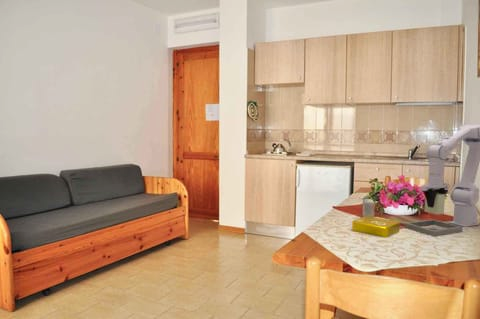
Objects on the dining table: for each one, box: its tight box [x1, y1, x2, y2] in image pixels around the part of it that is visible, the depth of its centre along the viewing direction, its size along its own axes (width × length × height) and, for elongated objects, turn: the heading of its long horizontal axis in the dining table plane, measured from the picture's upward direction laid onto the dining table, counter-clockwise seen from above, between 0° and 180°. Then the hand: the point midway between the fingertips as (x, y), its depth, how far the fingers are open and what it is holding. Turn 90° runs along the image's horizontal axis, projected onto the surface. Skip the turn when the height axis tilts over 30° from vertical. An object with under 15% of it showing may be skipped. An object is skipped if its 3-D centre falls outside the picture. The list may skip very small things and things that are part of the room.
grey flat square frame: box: [404, 218, 464, 237], centre depth 162 cm, size 17×14×2 cm
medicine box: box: [361, 198, 375, 218], centre depth 179 cm, size 8×4×9 cm, turn 168°
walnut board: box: [383, 214, 425, 227], centre depth 176 cm, size 14×12×1 cm
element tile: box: [351, 216, 401, 238], centre depth 160 cm, size 15×15×5 cm
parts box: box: [424, 193, 446, 215], centre depth 161 cm, size 4×6×8 cm, turn 25°
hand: (434, 206), depth 161 cm, fingers closed on parts box, 4 cm apart
